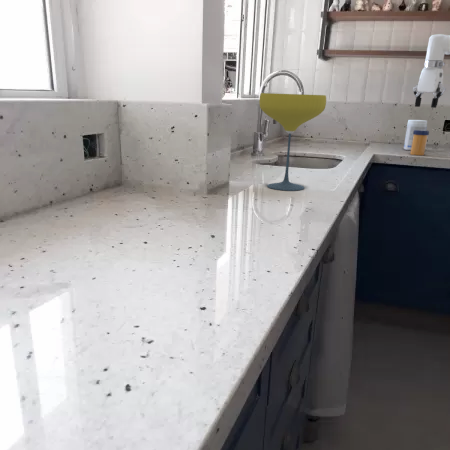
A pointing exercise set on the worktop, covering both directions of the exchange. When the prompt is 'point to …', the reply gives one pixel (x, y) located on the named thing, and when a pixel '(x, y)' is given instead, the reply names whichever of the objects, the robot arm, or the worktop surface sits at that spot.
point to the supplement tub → (411, 127)
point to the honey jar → (418, 144)
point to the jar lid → (421, 132)
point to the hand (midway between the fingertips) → (425, 106)
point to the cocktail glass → (291, 120)
